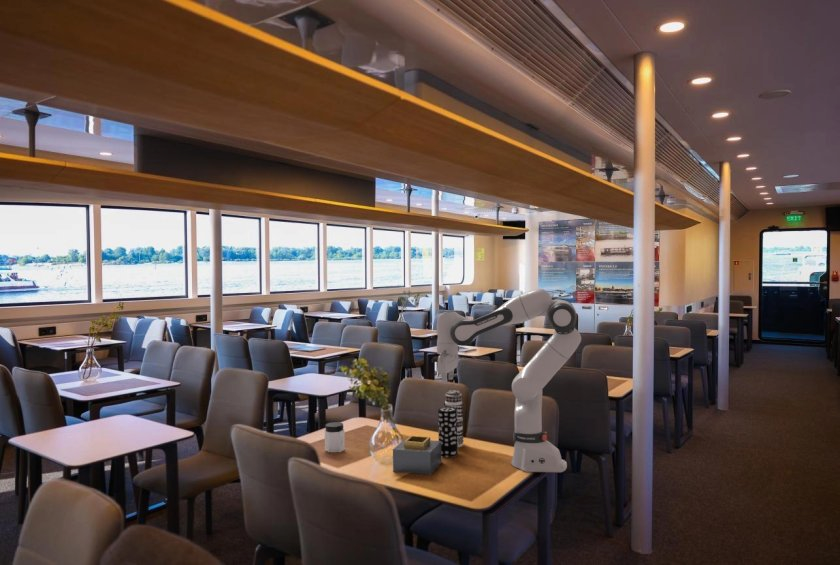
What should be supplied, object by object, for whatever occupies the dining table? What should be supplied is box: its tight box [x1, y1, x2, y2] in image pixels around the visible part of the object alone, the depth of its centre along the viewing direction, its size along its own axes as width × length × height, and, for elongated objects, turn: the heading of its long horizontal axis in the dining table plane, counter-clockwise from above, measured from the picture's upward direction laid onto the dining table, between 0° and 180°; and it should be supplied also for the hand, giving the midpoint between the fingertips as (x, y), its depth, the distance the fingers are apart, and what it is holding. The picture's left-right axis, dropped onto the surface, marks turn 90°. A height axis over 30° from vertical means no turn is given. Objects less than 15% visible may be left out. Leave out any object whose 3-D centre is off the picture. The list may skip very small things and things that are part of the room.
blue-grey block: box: [392, 435, 443, 476], centre depth 241 cm, size 16×16×12 cm
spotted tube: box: [437, 406, 459, 458], centre depth 256 cm, size 8×8×20 cm
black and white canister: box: [443, 389, 465, 448], centre depth 271 cm, size 9×9×25 cm
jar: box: [324, 421, 346, 453], centre depth 266 cm, size 9×8×12 cm
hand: (447, 381), depth 247 cm, fingers open, 8 cm apart
